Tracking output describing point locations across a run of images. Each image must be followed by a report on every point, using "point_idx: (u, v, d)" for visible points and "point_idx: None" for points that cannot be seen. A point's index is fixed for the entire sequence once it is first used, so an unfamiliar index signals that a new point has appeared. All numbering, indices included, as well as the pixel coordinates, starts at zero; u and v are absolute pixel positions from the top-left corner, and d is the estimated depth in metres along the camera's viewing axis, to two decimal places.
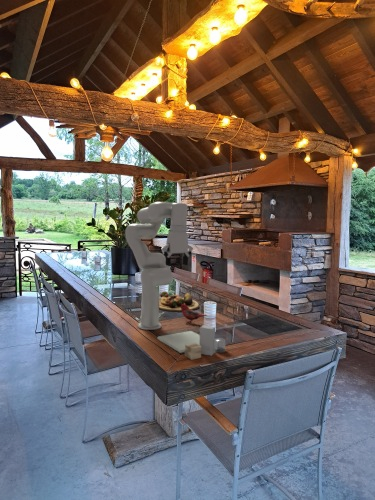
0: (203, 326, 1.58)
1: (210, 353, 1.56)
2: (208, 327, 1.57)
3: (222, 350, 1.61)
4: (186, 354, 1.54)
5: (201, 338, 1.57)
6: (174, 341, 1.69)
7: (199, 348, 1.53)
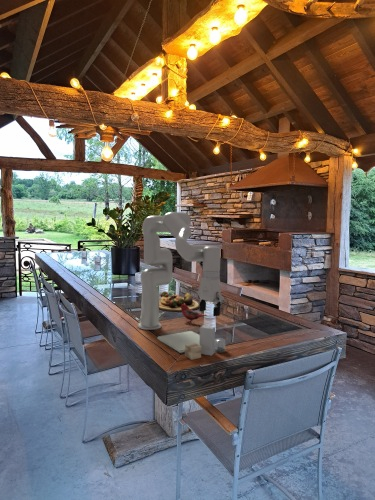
0: (203, 326, 1.58)
1: (210, 353, 1.56)
2: (208, 327, 1.57)
3: (222, 350, 1.61)
4: (186, 354, 1.54)
5: (201, 338, 1.57)
6: (174, 341, 1.69)
7: (199, 348, 1.53)
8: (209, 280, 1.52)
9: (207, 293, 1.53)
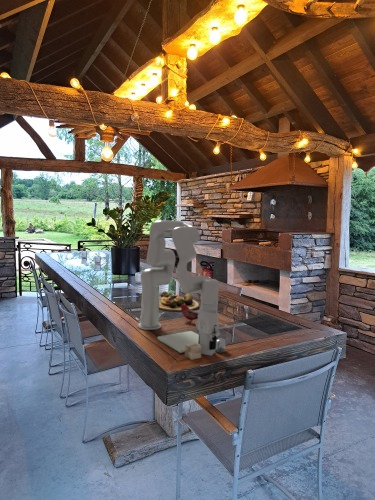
0: None
1: (210, 353, 1.56)
2: None
3: (222, 350, 1.61)
4: (186, 354, 1.54)
5: (201, 338, 1.57)
6: (174, 341, 1.69)
7: (199, 348, 1.53)
8: (207, 313, 1.54)
9: (205, 326, 1.54)
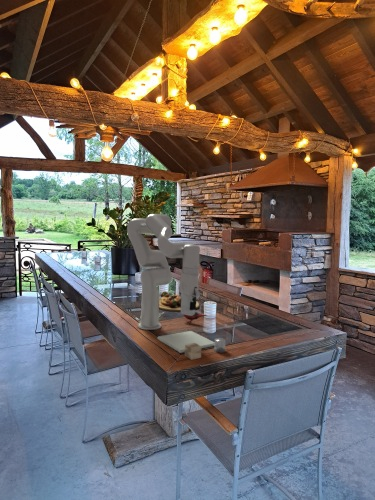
0: None
1: (190, 313, 1.67)
2: None
3: (222, 350, 1.61)
4: (186, 354, 1.54)
5: (182, 299, 1.68)
6: (174, 341, 1.69)
7: (199, 348, 1.53)
8: (188, 276, 1.65)
9: (186, 288, 1.66)
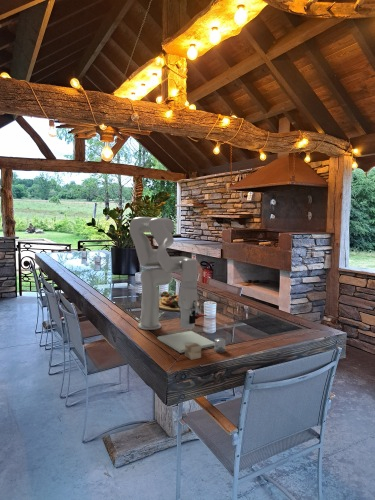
0: None
1: (190, 327, 1.68)
2: None
3: (222, 350, 1.61)
4: (186, 354, 1.54)
5: (182, 313, 1.69)
6: (174, 341, 1.69)
7: (199, 348, 1.53)
8: (186, 290, 1.66)
9: (185, 302, 1.67)
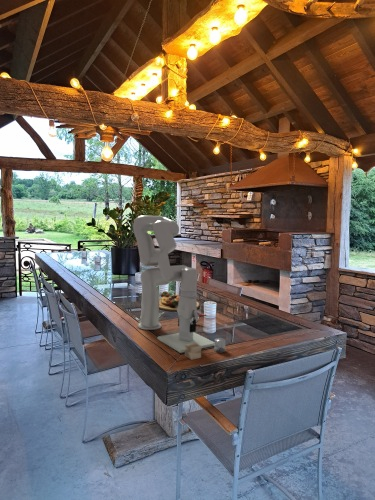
0: None
1: (188, 339, 1.69)
2: None
3: (222, 350, 1.61)
4: (186, 354, 1.54)
5: (180, 325, 1.70)
6: (174, 341, 1.69)
7: (199, 348, 1.53)
8: (186, 299, 1.66)
9: (184, 311, 1.67)
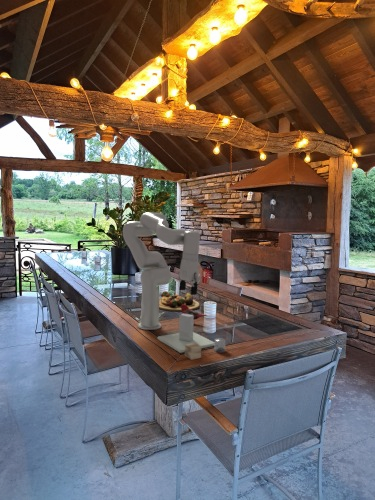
0: (182, 314, 1.71)
1: (188, 339, 1.69)
2: (187, 315, 1.70)
3: (222, 350, 1.61)
4: (186, 354, 1.54)
5: (180, 325, 1.70)
6: (174, 341, 1.69)
7: (199, 348, 1.53)
8: (188, 262, 1.67)
9: (186, 274, 1.68)
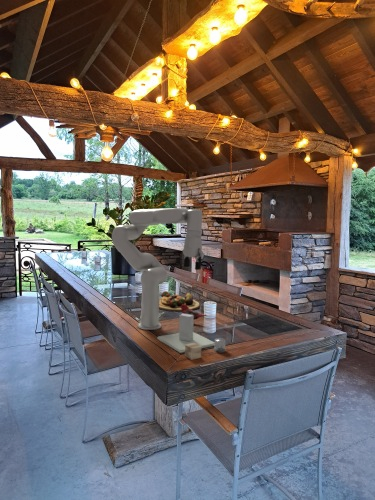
0: (182, 314, 1.71)
1: (188, 339, 1.69)
2: (187, 315, 1.70)
3: (222, 350, 1.61)
4: (186, 354, 1.54)
5: (180, 325, 1.70)
6: (174, 341, 1.69)
7: (199, 348, 1.53)
8: (191, 238, 1.76)
9: (190, 250, 1.77)
